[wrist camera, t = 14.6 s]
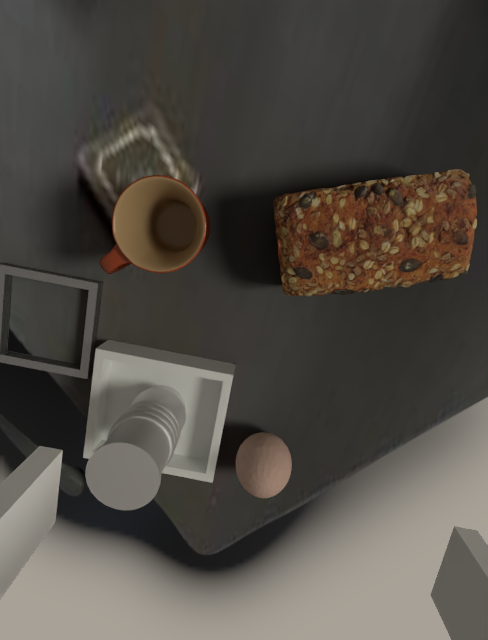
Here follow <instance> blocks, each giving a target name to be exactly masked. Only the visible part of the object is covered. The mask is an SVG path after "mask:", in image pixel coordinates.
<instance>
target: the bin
mask: <svg viewBox="0 0 488 640" xmlns="http://www.w3.org/2000/svg"><path fill="white" fill-rule="evenodd" d="M234 370H235V364H231V363H226V362H221V361H216V360H211V359H206V358H201V357H195V356H190V355H185V354H180V353H175V352H170V351H164V350H159V349H154V348H149V347H144V346H139V345H134V344H128V343H123V342H118V341H113V340H107V341H106V342H104V343H103V344H102V345H100V346H99V347H97V348H96V351H95V360H94V369H93V377H92V386H91V394H90V403H89V412H88V420H87V429H86V437H85V447H84V456H83V457H84V458H88V459H89V458H90V457H91V456H92V454H93V453H94V452H95V451H96V449H98V448H99V447H101V446H102V445H103V444H104V443H105V442H106V440H107V436H108V433H109V431H110V429H111V427H112V426H113V425H114V423H115V422H116V421H117V420H118V418H119V417H120V416H121V414H122V413H124V411H125V410H126V409H127V408H128V407H129V406H130V405H131V404H132V402H133V400H134V399H135V398H136V397H137V395H139V394H140V393H141V392H143V391H145V390H147V389H149V388H150V387H153V386H155V385H165V386H169V387H172V388H174V389H175V390H177V391H178V392H179V393H180V394H181V396H182V397H183V399H184V401H185V406H186V410H185V411H186V420H185V424H184V426H183V429H182V430H181V434H180V438H179V440H178V443H177V445H176V448H175V450H174V453H173V455H172V458H171V460H170V462H169V463H168V464H167V465H166V467H165V468H164V469H163V471H162V473H165V474H171V475H176V476H181V477H186V478H191V479H196V480H202V481H207V482H212V483H213V478H214V473H215V468H216V462H217V457H218V452H219V447H220V442H221V437H222V431H223V426H224V421H225V416H226V411H227V406H228V401H229V395H230V390H231V385H232V380H233V375H234Z"/></svg>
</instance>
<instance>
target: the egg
mask: <svg viewBox="0 0 488 640" xmlns="http://www.w3.org/2000/svg"><path fill="white" fill-rule="evenodd" d="M291 467H292V464H291V456H290V453H289V450H288V448H287V446H286V445H285V443H284V442H283V441H282V440H281V439H280V438H278V437H277V436H275V435H273V434H271V433H264V432H261V433H256V434H253V435H251V436H249V437H248V438H247V439H246V440H244V442H243V443H242V444H241V446H240V447H239V450H238V452H237V456H236V472H237V476H238V479H239V481H240V483H241V484H242V486H243V487H244V488H245V489H246V490H247V491H248V492H249V493H250V494H252V495H254V496H256V497H259V498H269V497H272V496H274V495H276V494H278V493H279V492H280V491H281V490H282V489H283V488H284V487H285V485H286V484H287V482H288V480H289V477H290V474H291Z"/></svg>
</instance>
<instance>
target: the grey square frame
mask: <svg viewBox="0 0 488 640" xmlns="http://www.w3.org/2000/svg"><path fill="white" fill-rule="evenodd" d="M12 275H13V276H18V277H23V278H29V279H34V280H39V281H44V282H49V283H54V284H60V285H65V286H70V287H75V288H80V289H85V290H89V293H88V302H87V312H86V321H85V330H84V339H83V348H82V358H81V365H77V364H72V363H67V362H62V361H57V360H51V359H46V358H41V357H36V356H31V355H26V354H20V353H15V352H10V351H7V346H8V331H9V317H10V302H11V287H12ZM102 286H103V282H101V281H96V280H91V279H85V278H80V277H75V276H70V275H65V274H60V273H54V272H49V271H44V270H39V269H34V268H29V267H23V266H18V265H13V264H8V263H0V362H2V363H7V364H12V365H17V366H22V367H27V368H33V369H38V370H43V371H48V372H53V373H58V374H63V375H69V376H74V377H79V378H84V379H88V378H89V377H90V376H92V373H93V364H94V355H95V347H96V338H97V329H98V321H99V312H100V303H101V295H102Z"/></svg>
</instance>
